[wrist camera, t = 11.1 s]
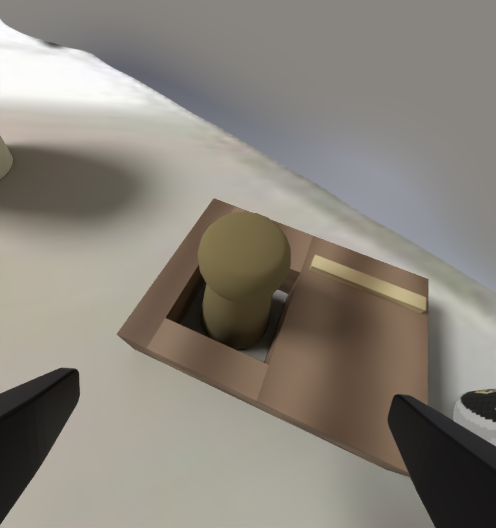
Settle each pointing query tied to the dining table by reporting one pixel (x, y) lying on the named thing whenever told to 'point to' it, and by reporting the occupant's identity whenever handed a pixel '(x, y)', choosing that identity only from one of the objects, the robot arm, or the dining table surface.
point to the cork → (241, 276)
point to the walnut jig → (305, 341)
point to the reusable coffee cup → (4, 159)
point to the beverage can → (477, 413)
